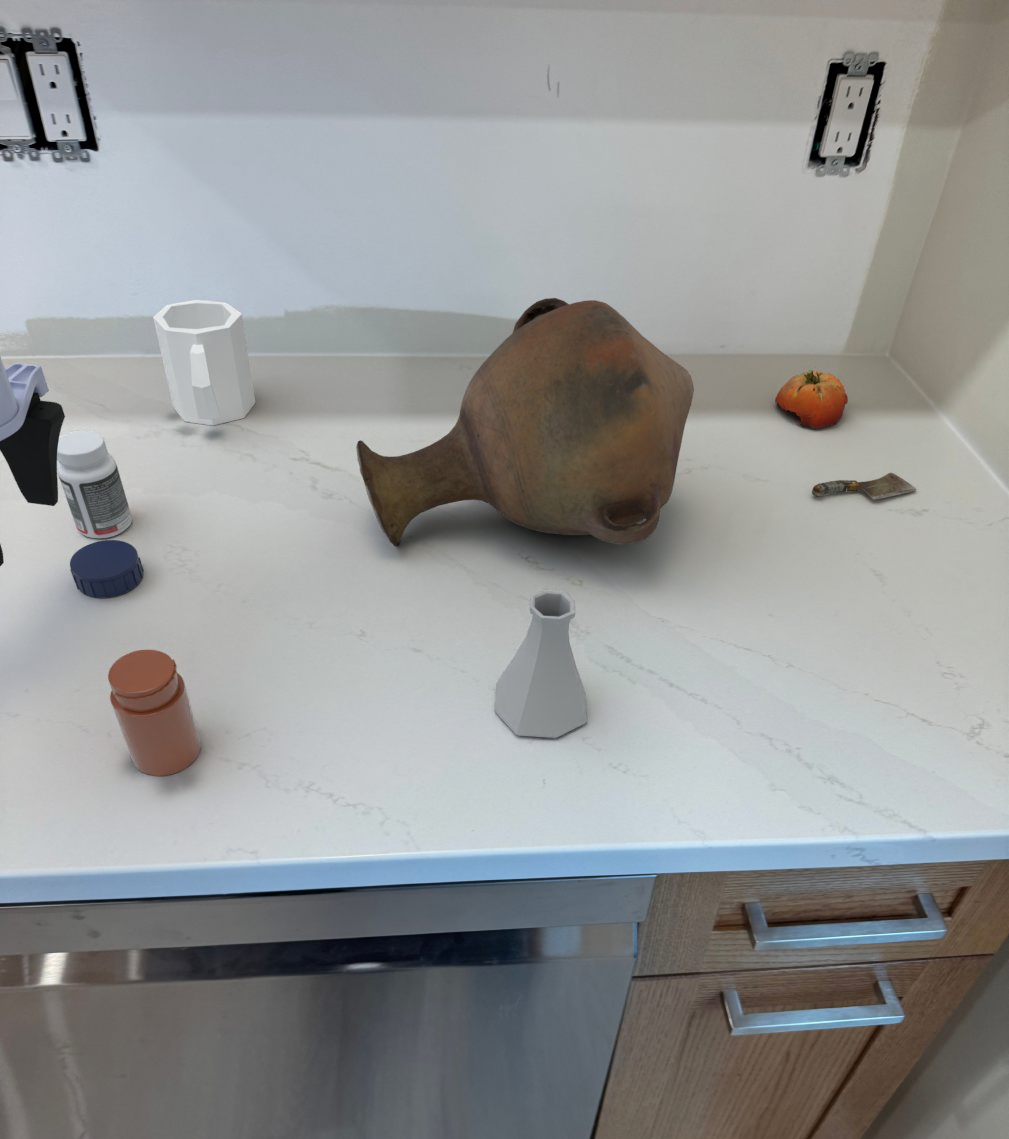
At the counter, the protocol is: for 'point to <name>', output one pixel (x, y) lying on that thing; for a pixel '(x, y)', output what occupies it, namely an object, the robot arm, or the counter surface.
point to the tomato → (814, 398)
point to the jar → (154, 712)
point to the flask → (543, 674)
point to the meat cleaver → (866, 487)
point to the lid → (106, 568)
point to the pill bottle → (92, 485)
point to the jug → (552, 432)
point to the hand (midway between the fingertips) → (16, 531)
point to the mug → (205, 361)
